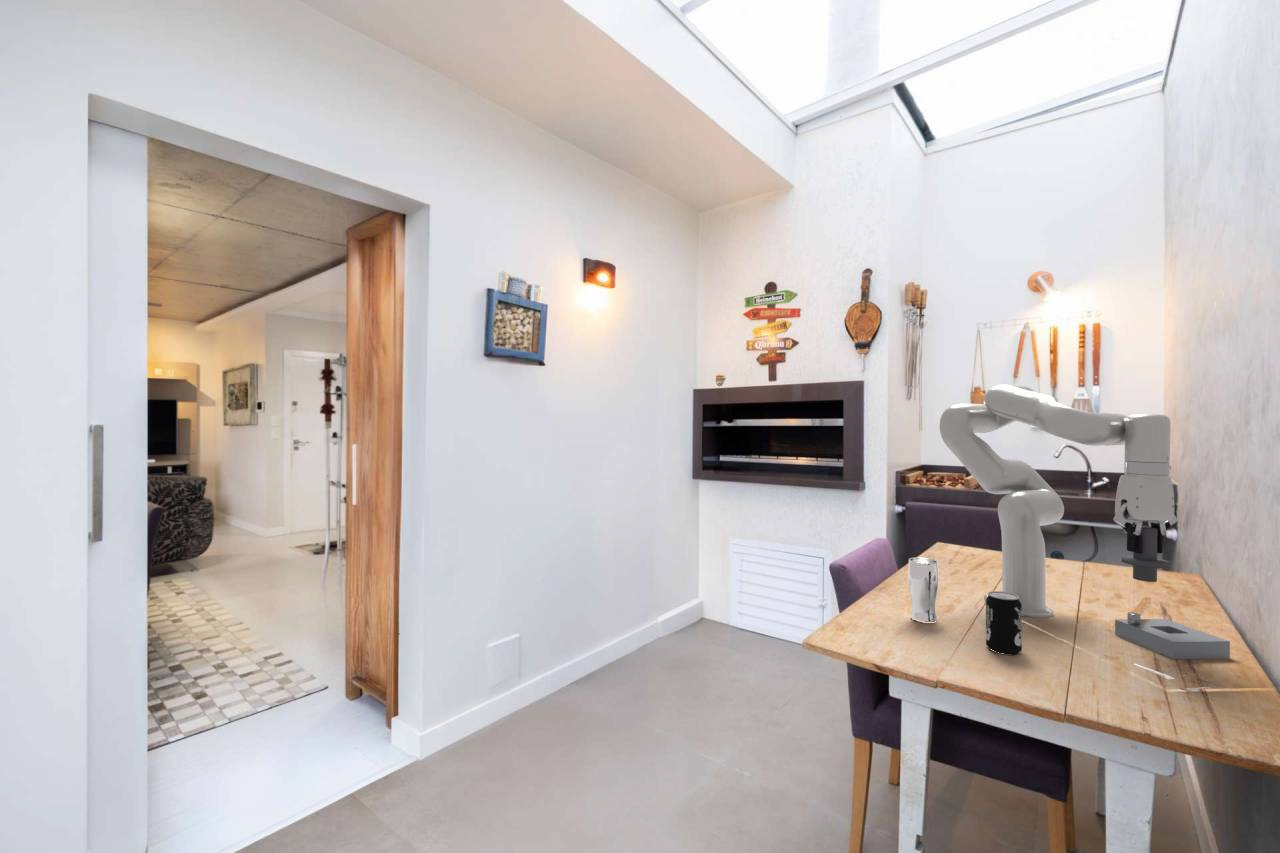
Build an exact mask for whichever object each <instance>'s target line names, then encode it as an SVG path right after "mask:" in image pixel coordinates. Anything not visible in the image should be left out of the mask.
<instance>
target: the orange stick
mask: <svg viewBox="0 0 1280 853" xmlns="http://www.w3.org/2000/svg"><path fill="white" fill-rule="evenodd" d="M1151 604H1152V598H1151V597H1148V596H1145V597H1143V599H1142V600H1141V601H1140V602H1139V603H1138V604H1137V605H1136V606H1135V608H1133V609H1132V610H1131V612H1126V613H1127V614H1126V615H1127V618H1126V619H1128V623H1129V624H1132V625H1140V619H1141V616H1142V615H1143V614H1144V612H1146V611H1147V609H1148V607H1149V606H1151Z"/></svg>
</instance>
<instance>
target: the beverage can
mask: <svg viewBox="0 0 1280 853" xmlns="http://www.w3.org/2000/svg"><path fill="white" fill-rule="evenodd" d="M1000 591H1001V590H998V591H997V590H994V591H993V590H992V591H989V592H988V593H987V595H988V597H987V598H986V602H985V645H986V646H987V648H988V649H989V648H990V649H992V650H994V651H996V652H995V653H997V652H999V653H998V654H1000V653H1004V654H1003V655H1005V654H1012V655H1011V656H1014V655H1015V654H1016V655H1019V653H1021V652H1022V650H1023V649H1022V648H1023V646H1022V643H1023V642H1022V639H1023V634H1022V632H1023V628H1022V627H1023V625H1022V622H1023V621H1022V619H1023V618H1022V604H1021V602H1020V601H1019V596H1017V595H1015V594H1012V593H1008V592H1000ZM990 649H989V650H990ZM992 650H991V651H992ZM994 651H993V652H994ZM1016 655H1015V656H1016Z"/></svg>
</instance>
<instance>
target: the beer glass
mask: <svg viewBox="0 0 1280 853" xmlns="http://www.w3.org/2000/svg"><path fill="white" fill-rule="evenodd" d="M938 564H939V563H938V560H936V559H933V558H927V557H910V558H908V565H907V566H908V568H907V581H908V588H909V593H910V597H911V610H910V611H911V612H910V616H911V617H912V618H913V619H916V620H920V621H925V622H935V621H937V622H938V617H937V613H936V602H937V597H938V591H939V582H940V577H939V576H940V574H939V565H938Z"/></svg>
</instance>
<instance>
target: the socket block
mask: <svg viewBox="0 0 1280 853" xmlns="http://www.w3.org/2000/svg"><path fill="white" fill-rule="evenodd" d="M1114 620H1115V621H1114V633H1115V636H1117V637H1120V638H1121V639H1124V640H1126V641H1129V642H1131V643H1134V644H1136V645H1138V646H1141V647H1143V648H1146V649H1148V650H1149V651H1152V652H1156V653H1158V654H1160V655H1162V656H1165V657H1167V658H1170V659H1173V660H1200V659H1201V660H1202V659H1203V660H1206V659H1207V660H1209V659H1210V660H1212V659H1213V660H1214V659H1215V660H1218V659H1221V660H1222V659H1225V660H1227V659H1230V658H1231V650H1230V649H1231V648H1230V647H1231V641H1230V640H1228V639H1224V638H1221V637H1218V636H1217V635H1213V634H1210V633H1207V632H1204V631H1201V630H1199V629H1196V628H1193V627H1190V626H1188V625H1184V624H1182V623H1179V622H1175V621H1173V620H1169V619H1166V618H1142V619H1141V618H1140V625H1132V624H1129V623H1128V618H1126V619H1125V618H1123V619H1118V618H1117V619H1114Z"/></svg>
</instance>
